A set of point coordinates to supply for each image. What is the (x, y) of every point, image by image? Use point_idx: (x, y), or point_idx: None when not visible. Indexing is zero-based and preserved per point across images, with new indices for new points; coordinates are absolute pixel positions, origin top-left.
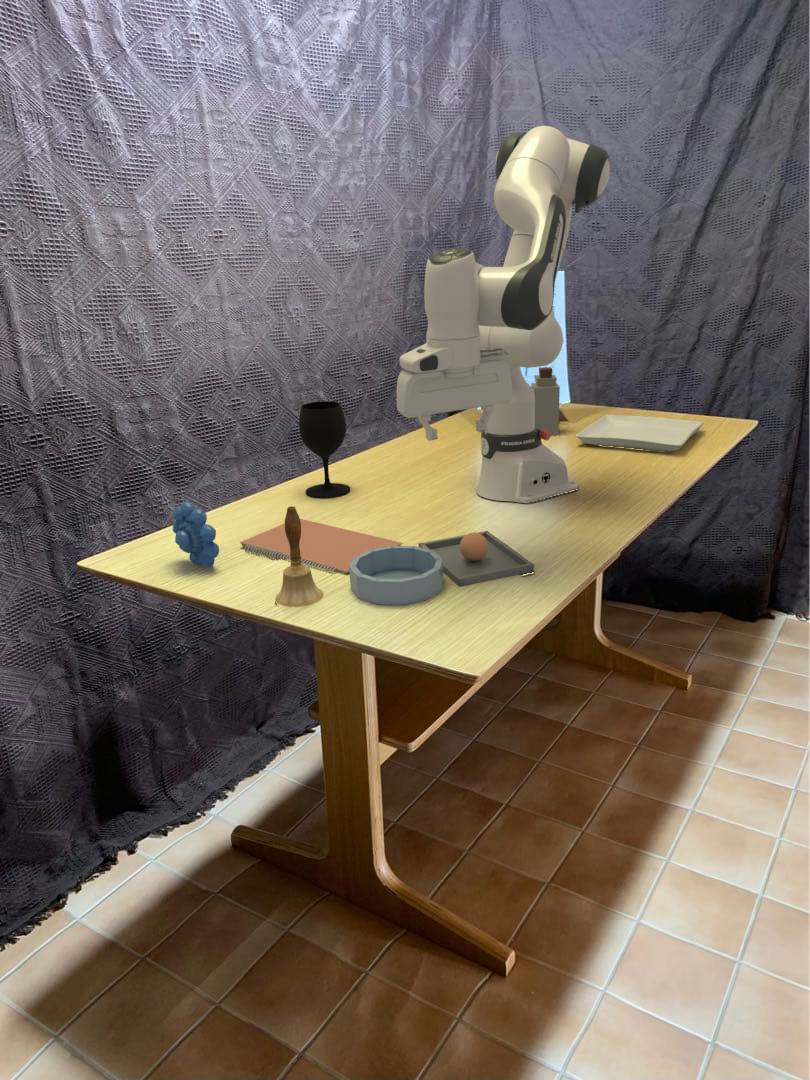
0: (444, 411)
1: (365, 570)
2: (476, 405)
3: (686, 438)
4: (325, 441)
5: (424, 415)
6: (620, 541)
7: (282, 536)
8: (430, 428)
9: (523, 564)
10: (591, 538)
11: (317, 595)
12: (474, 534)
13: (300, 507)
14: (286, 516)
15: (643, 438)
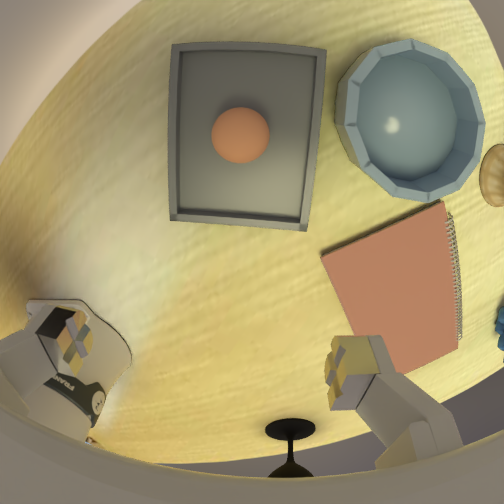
0: (325, 483)
1: (433, 177)
2: (10, 423)
3: None
4: (300, 477)
5: (476, 441)
6: (27, 124)
7: (422, 347)
8: (394, 383)
9: (188, 50)
10: (47, 148)
11: (497, 156)
12: (238, 132)
13: (341, 410)
14: None
15: None
